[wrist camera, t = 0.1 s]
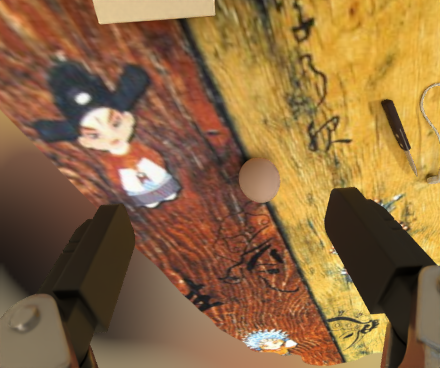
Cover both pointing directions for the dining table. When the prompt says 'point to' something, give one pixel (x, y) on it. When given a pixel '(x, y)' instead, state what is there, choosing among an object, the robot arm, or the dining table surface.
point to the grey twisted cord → (435, 179)
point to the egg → (259, 179)
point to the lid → (150, 10)
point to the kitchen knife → (398, 130)
